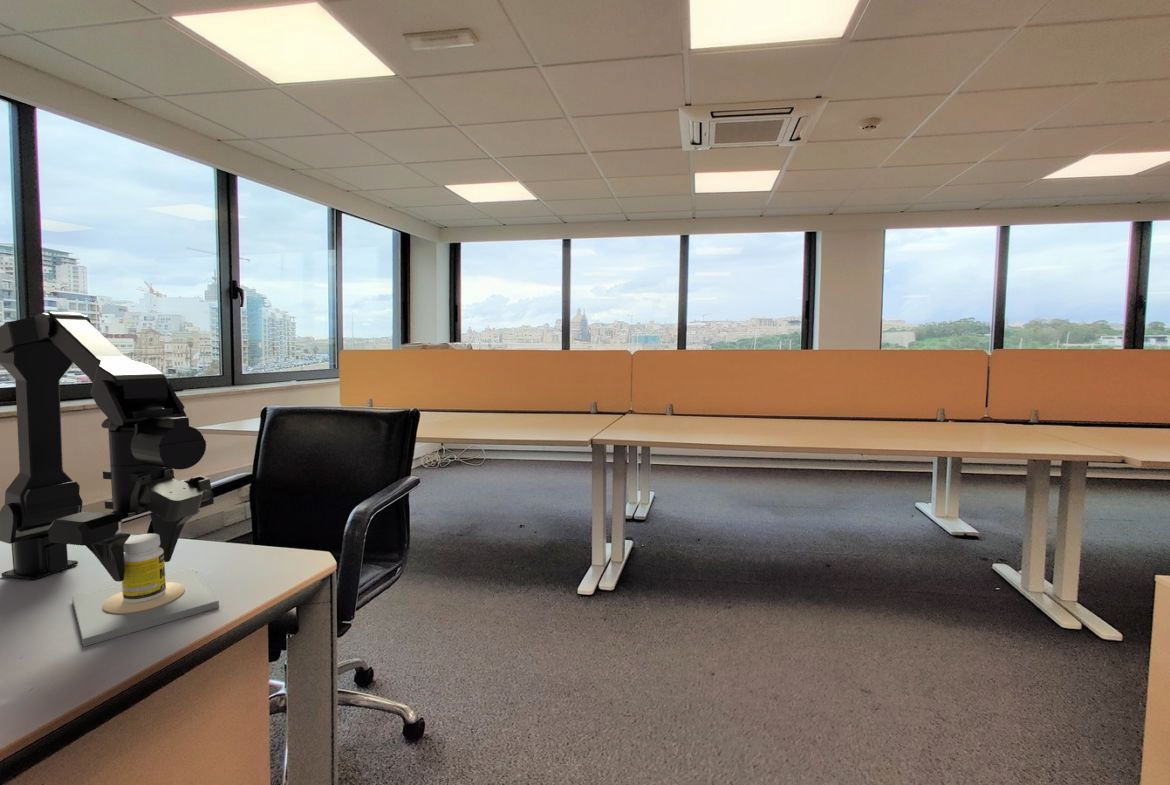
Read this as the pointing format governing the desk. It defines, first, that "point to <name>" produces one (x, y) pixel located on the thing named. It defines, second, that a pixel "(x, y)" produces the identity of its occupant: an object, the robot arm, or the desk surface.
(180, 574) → the slate board
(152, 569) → the supplement bottle
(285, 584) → the desk surface
